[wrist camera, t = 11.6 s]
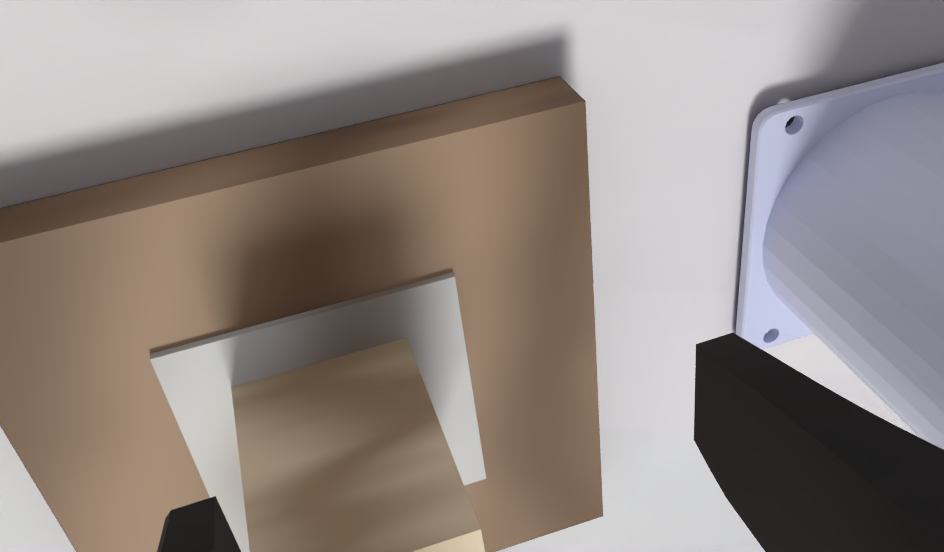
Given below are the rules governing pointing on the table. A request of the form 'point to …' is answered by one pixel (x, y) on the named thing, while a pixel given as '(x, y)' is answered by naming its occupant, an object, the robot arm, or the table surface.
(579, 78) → the table surface
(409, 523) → the maple block
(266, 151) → the walnut base
